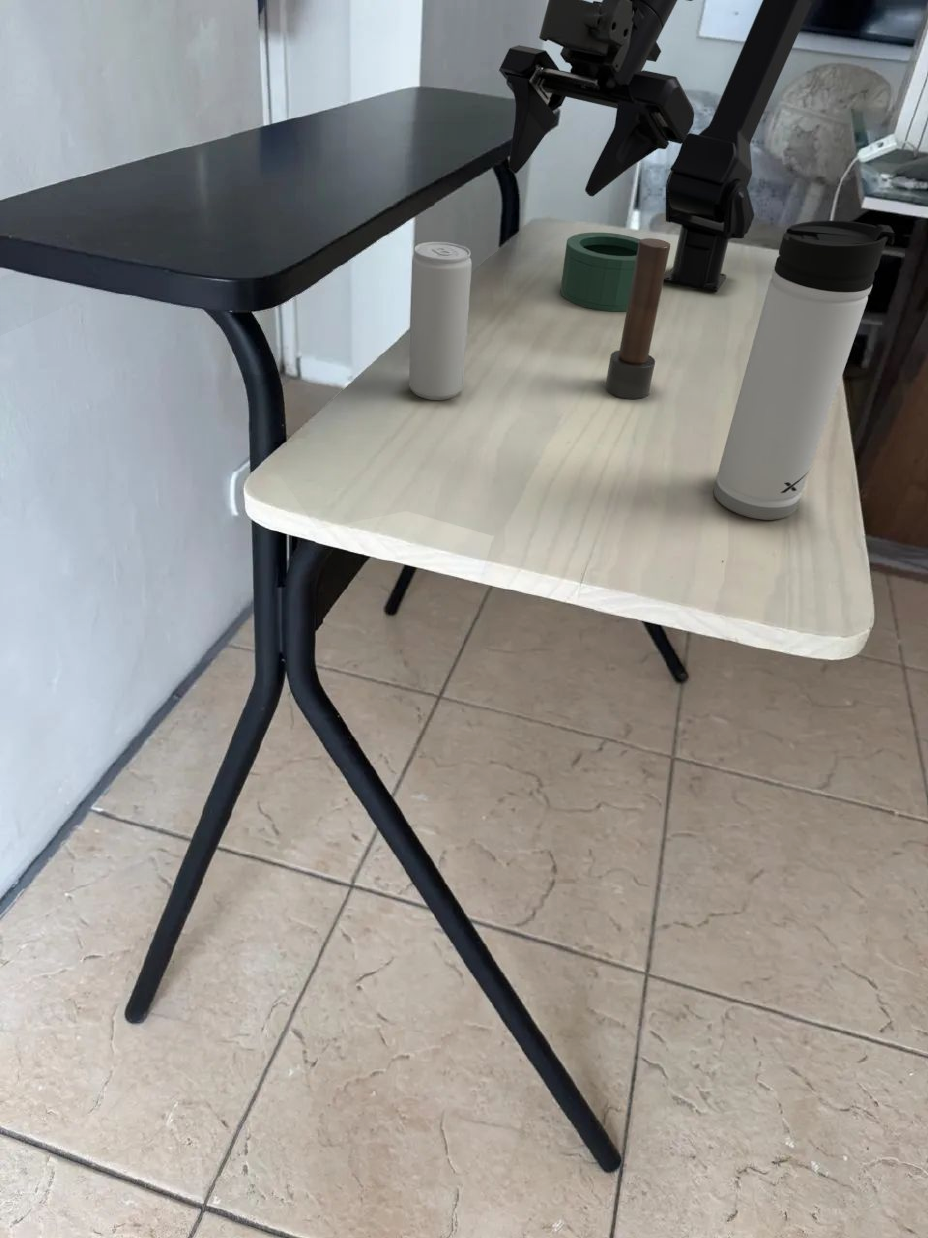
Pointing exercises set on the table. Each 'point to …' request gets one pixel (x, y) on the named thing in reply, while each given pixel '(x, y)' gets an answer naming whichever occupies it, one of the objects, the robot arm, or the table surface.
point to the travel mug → (797, 363)
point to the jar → (599, 270)
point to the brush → (639, 324)
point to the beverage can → (439, 319)
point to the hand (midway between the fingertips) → (549, 181)
